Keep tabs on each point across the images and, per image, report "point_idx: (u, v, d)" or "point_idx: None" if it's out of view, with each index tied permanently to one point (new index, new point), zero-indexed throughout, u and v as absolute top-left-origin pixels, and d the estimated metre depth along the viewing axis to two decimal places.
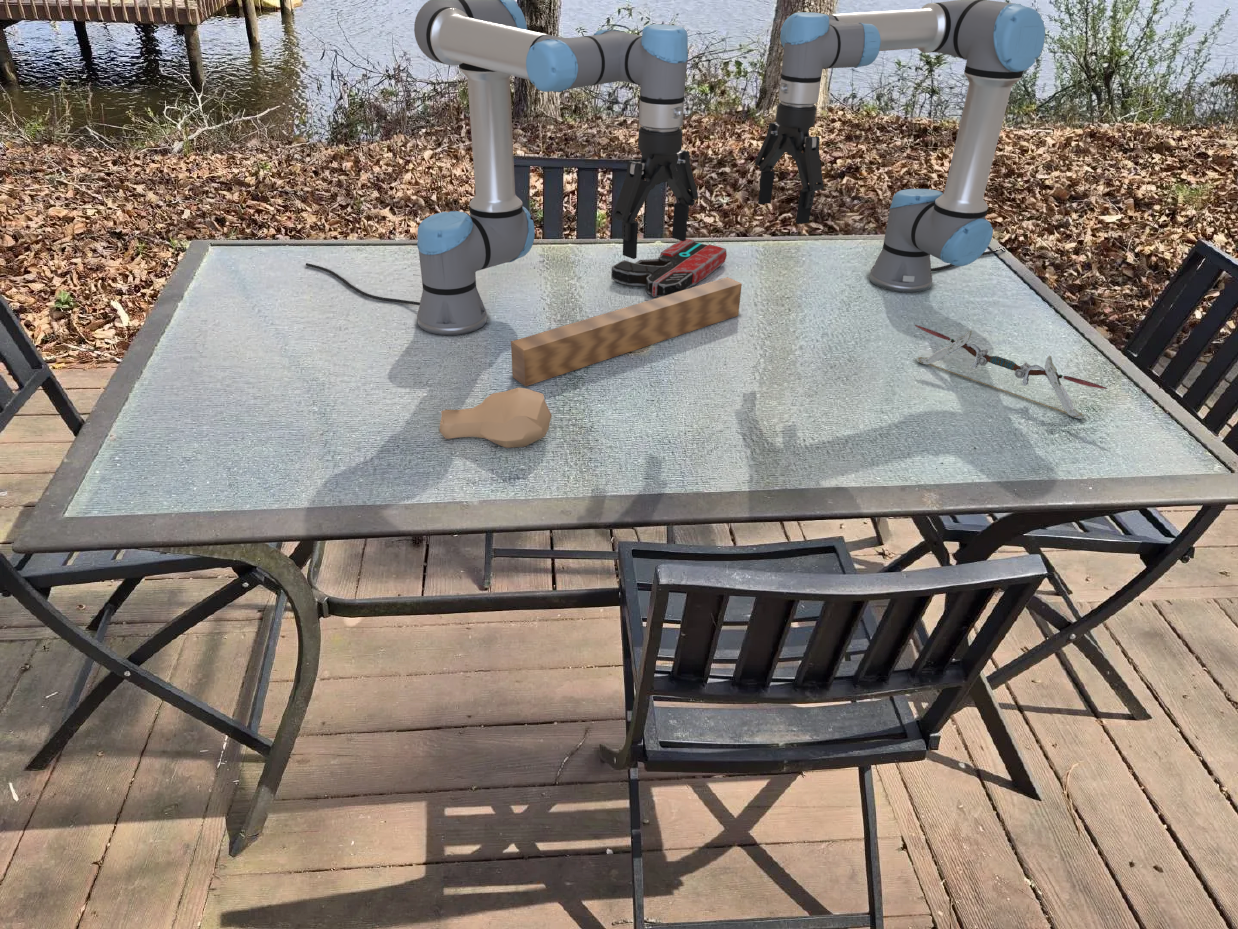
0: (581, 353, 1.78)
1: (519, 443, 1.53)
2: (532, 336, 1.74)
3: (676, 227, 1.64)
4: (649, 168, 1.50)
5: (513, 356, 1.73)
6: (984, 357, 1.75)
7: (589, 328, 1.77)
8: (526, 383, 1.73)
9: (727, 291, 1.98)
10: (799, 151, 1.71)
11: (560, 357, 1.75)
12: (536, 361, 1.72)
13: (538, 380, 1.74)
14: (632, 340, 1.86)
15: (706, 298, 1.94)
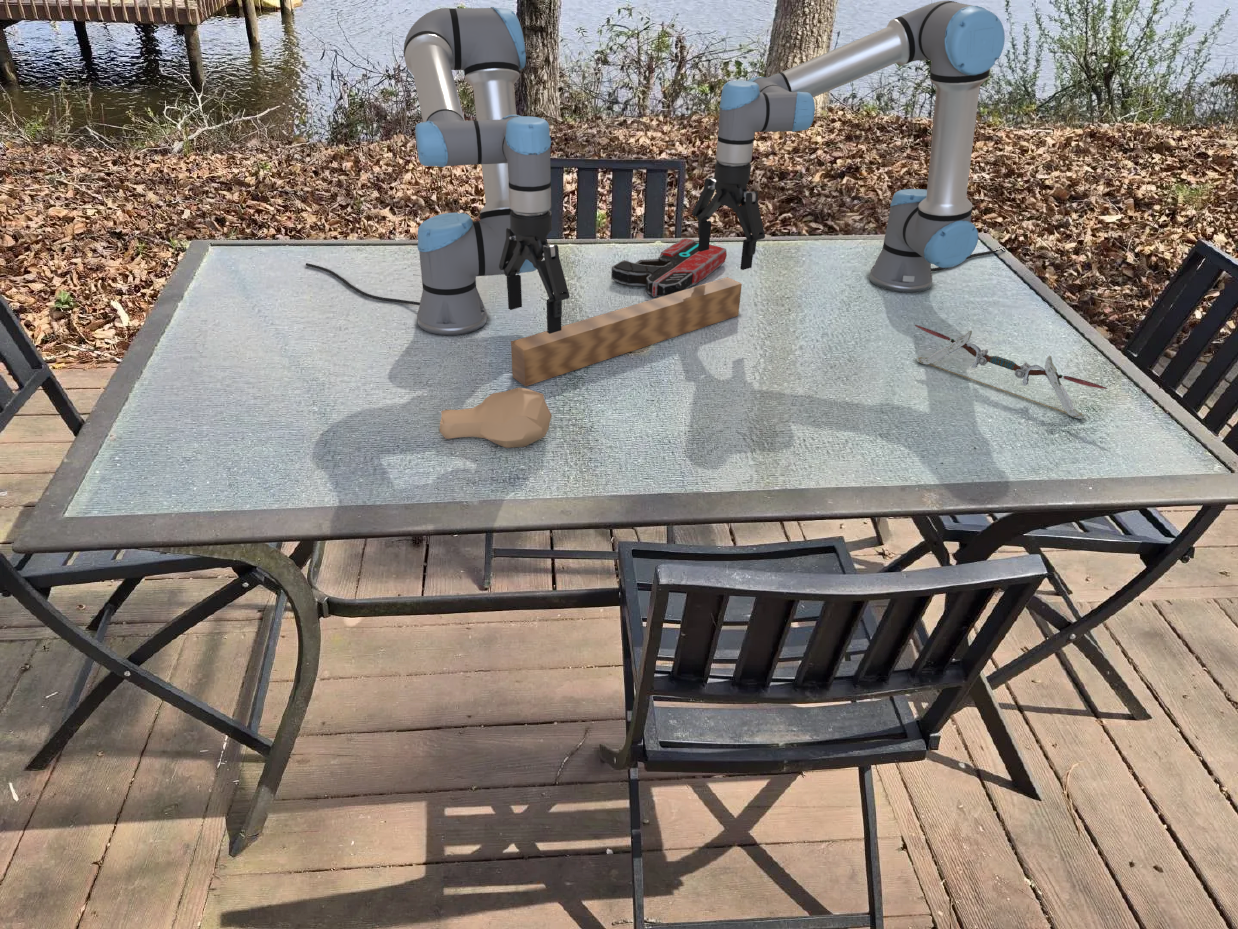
0: (581, 353, 1.78)
1: (519, 443, 1.53)
2: (532, 336, 1.74)
3: (513, 298, 1.72)
4: None
5: (513, 356, 1.73)
6: (984, 357, 1.75)
7: (589, 328, 1.77)
8: (526, 383, 1.73)
9: (727, 291, 1.98)
10: None
11: (560, 357, 1.75)
12: (536, 361, 1.72)
13: (538, 380, 1.74)
14: (632, 340, 1.86)
15: (706, 298, 1.94)
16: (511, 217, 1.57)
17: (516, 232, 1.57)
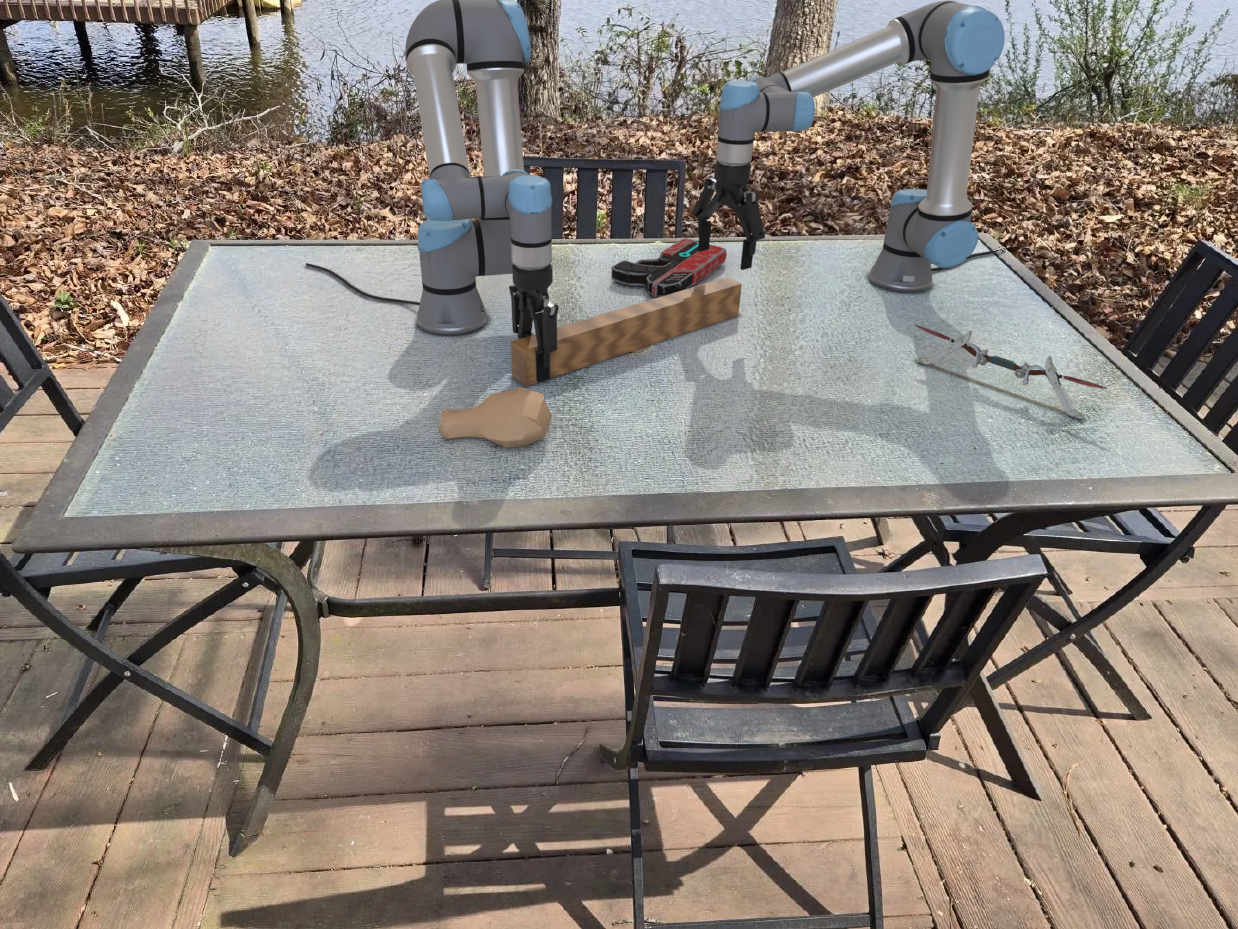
0: (581, 353, 1.78)
1: (519, 443, 1.53)
2: (532, 336, 1.74)
3: None
4: None
5: (513, 356, 1.73)
6: (984, 357, 1.75)
7: (589, 328, 1.77)
8: (526, 383, 1.73)
9: (727, 291, 1.98)
10: None
11: (560, 357, 1.75)
12: None
13: None
14: (632, 340, 1.86)
15: (706, 298, 1.94)
16: (513, 271, 1.62)
17: (518, 285, 1.63)
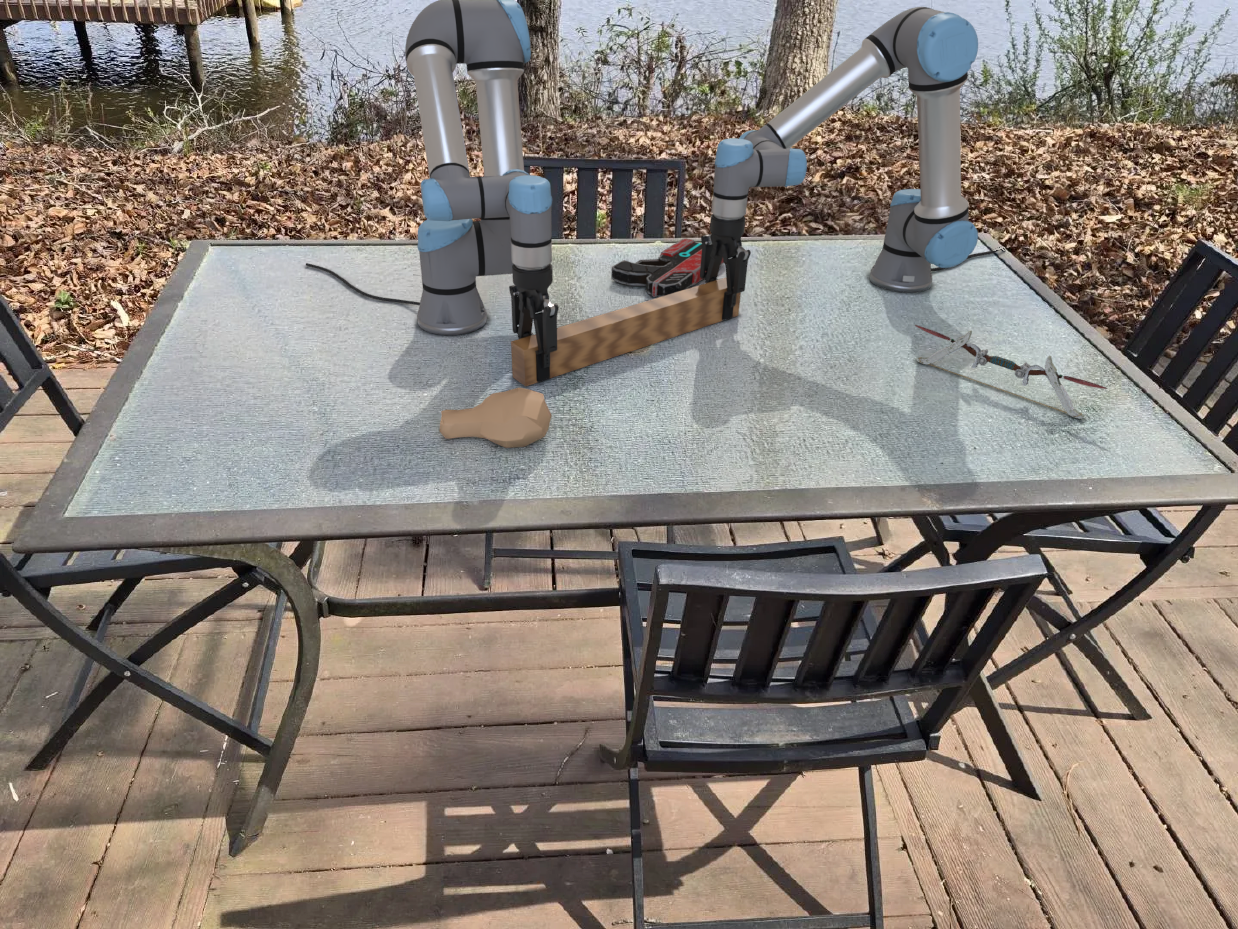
0: (581, 353, 1.78)
1: (519, 443, 1.53)
2: (532, 336, 1.74)
3: None
4: None
5: (513, 356, 1.73)
6: (984, 357, 1.75)
7: (589, 328, 1.77)
8: (526, 383, 1.73)
9: None
10: None
11: (560, 357, 1.75)
12: None
13: None
14: (632, 340, 1.86)
15: (707, 298, 1.94)
16: (513, 271, 1.62)
17: (518, 285, 1.63)
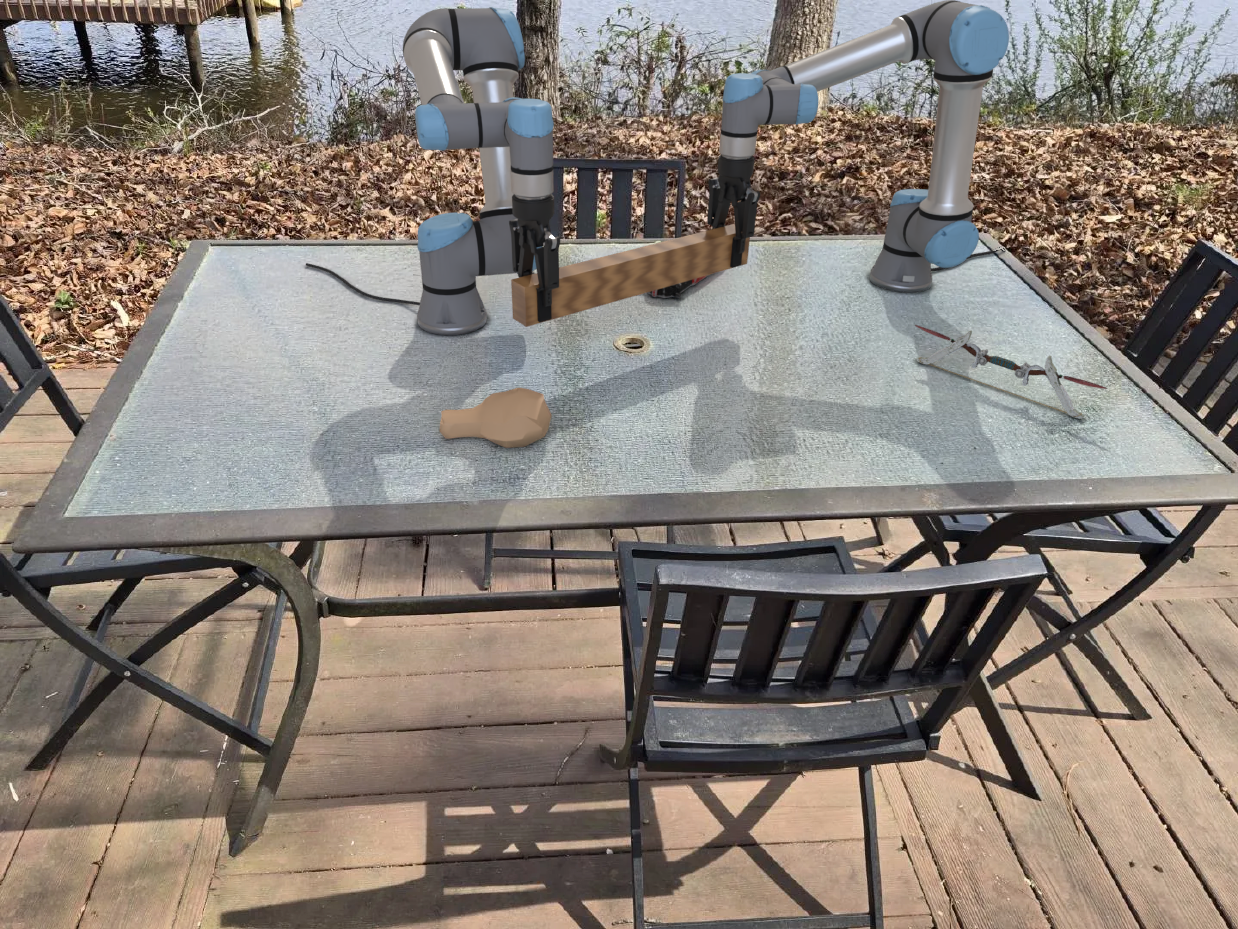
0: (584, 294, 1.71)
1: (519, 443, 1.53)
2: (533, 275, 1.66)
3: None
4: None
5: (513, 295, 1.65)
6: (984, 357, 1.75)
7: (593, 268, 1.70)
8: (527, 324, 1.65)
9: None
10: None
11: (562, 297, 1.68)
12: None
13: None
14: (638, 283, 1.78)
15: (714, 242, 1.87)
16: (513, 201, 1.55)
17: (518, 216, 1.55)
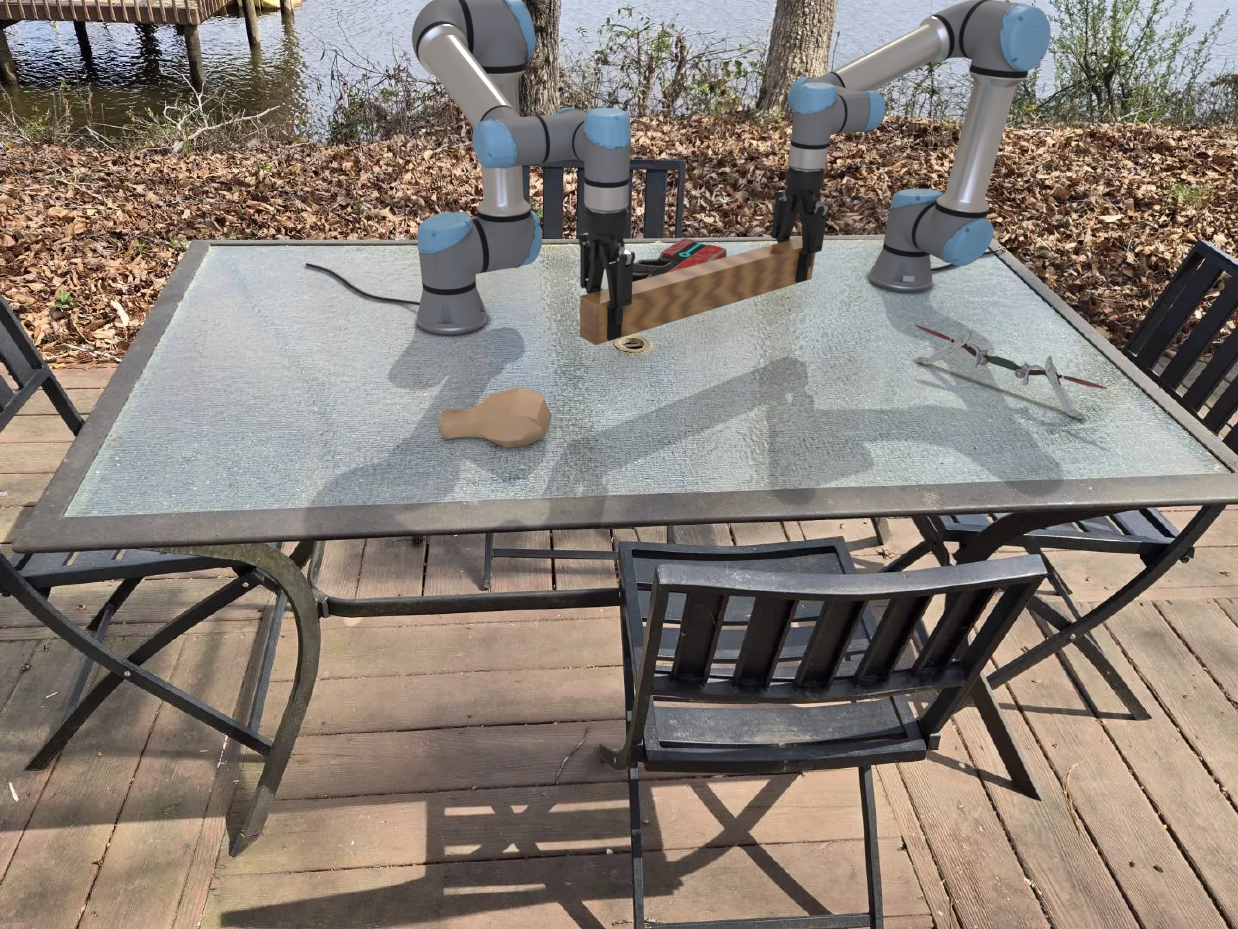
0: (653, 311, 1.64)
1: (519, 443, 1.53)
2: (602, 291, 1.59)
3: None
4: None
5: (582, 312, 1.58)
6: (984, 357, 1.75)
7: (663, 284, 1.63)
8: (596, 342, 1.58)
9: None
10: None
11: (632, 314, 1.61)
12: None
13: None
14: (706, 300, 1.71)
15: (781, 257, 1.80)
16: (586, 215, 1.48)
17: (591, 231, 1.48)
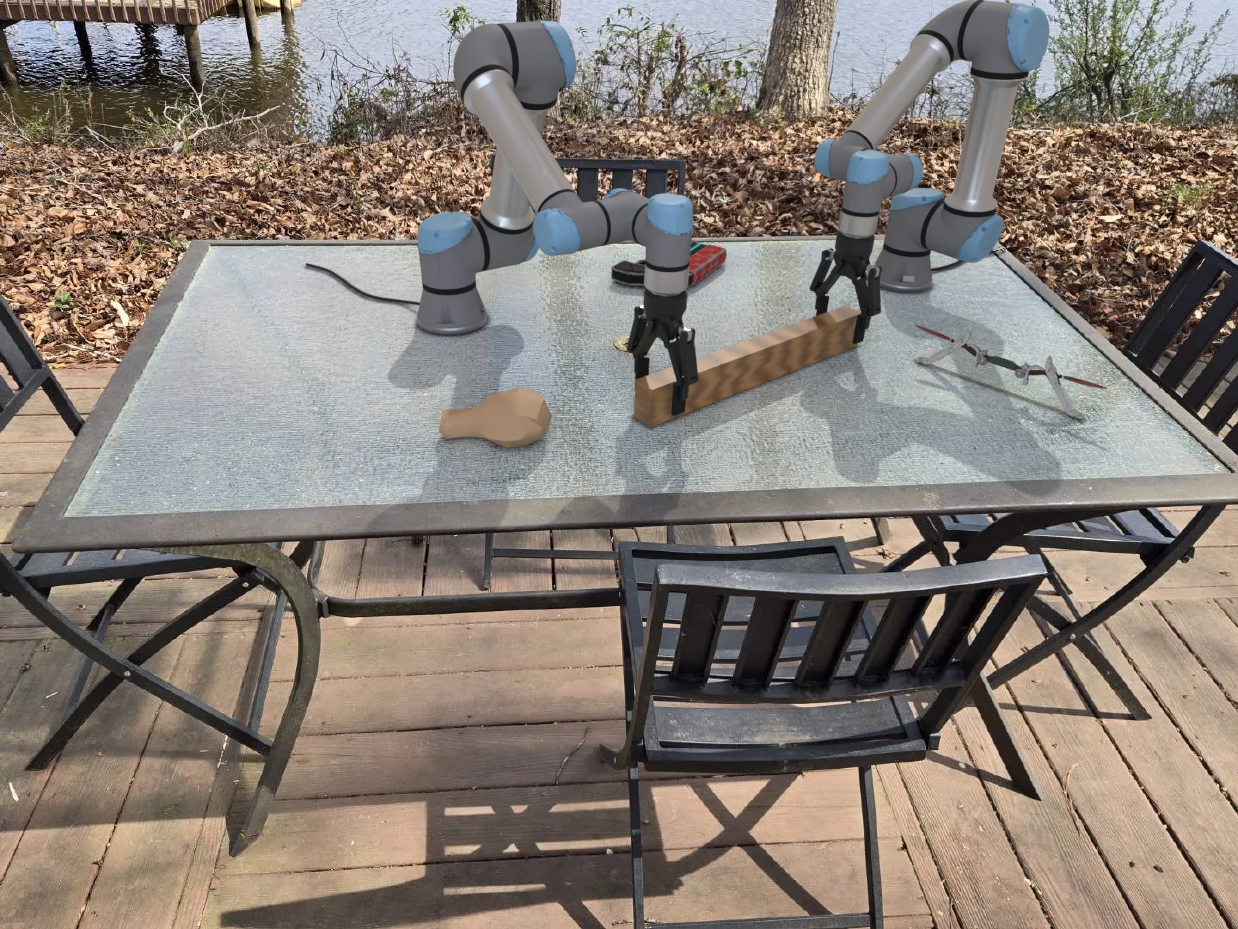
0: (705, 390, 1.66)
1: (519, 443, 1.53)
2: (656, 373, 1.62)
3: None
4: None
5: (637, 395, 1.61)
6: (984, 357, 1.75)
7: (715, 364, 1.65)
8: (651, 424, 1.61)
9: (849, 321, 1.86)
10: None
11: None
12: (662, 400, 1.60)
13: (662, 420, 1.62)
14: (755, 375, 1.74)
15: (829, 329, 1.82)
16: (646, 296, 1.49)
17: (651, 312, 1.50)
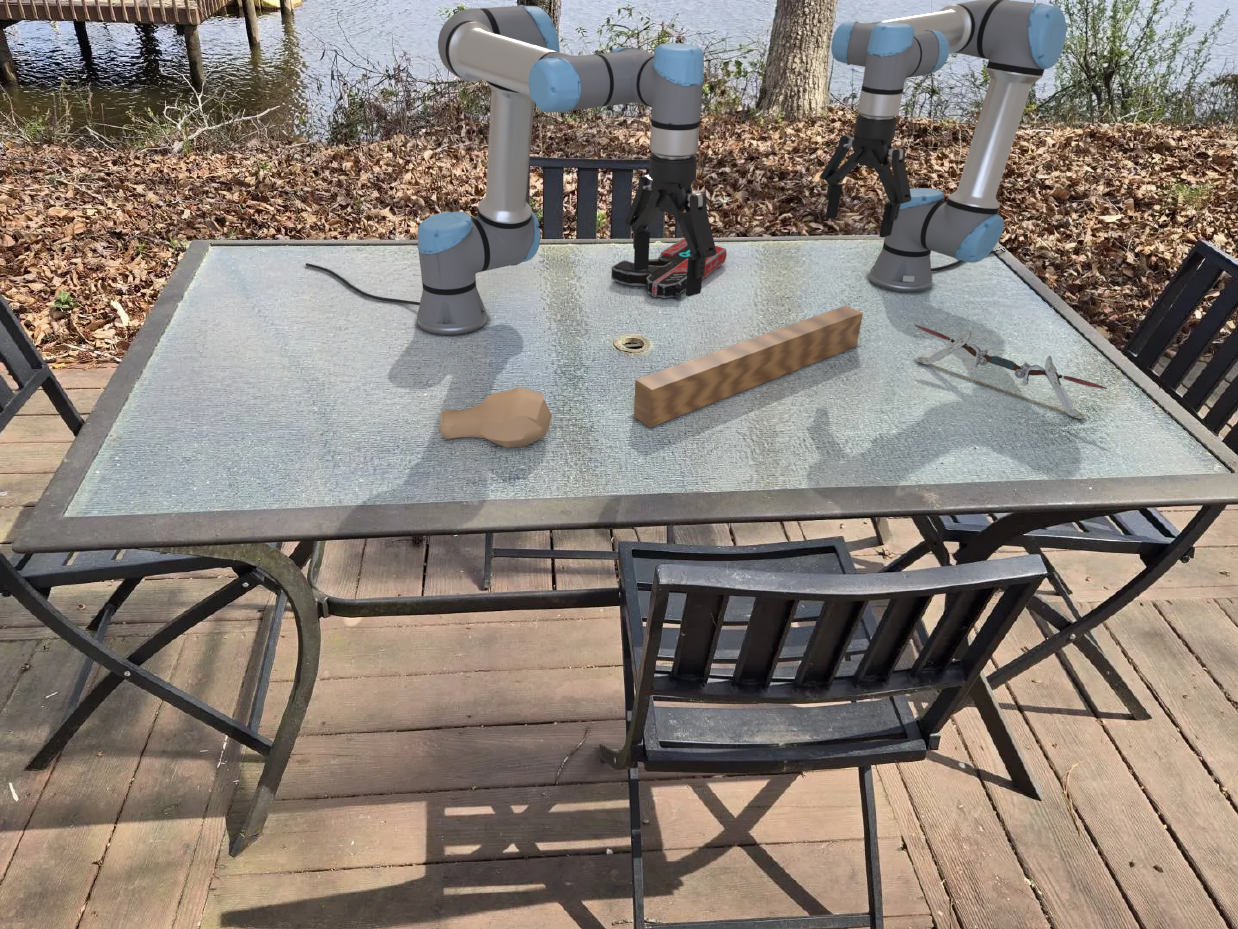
0: (705, 390, 1.66)
1: (519, 443, 1.53)
2: (656, 373, 1.62)
3: (640, 258, 1.52)
4: None
5: (637, 395, 1.61)
6: (984, 357, 1.75)
7: (715, 364, 1.65)
8: (651, 424, 1.61)
9: (849, 321, 1.86)
10: None
11: (685, 395, 1.63)
12: (662, 400, 1.60)
13: (662, 420, 1.62)
14: (755, 375, 1.74)
15: (829, 329, 1.82)
16: (652, 161, 1.37)
17: (658, 179, 1.37)
